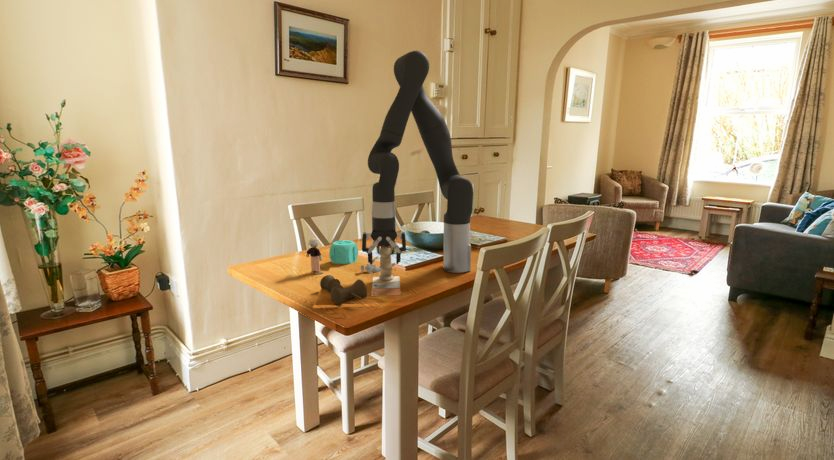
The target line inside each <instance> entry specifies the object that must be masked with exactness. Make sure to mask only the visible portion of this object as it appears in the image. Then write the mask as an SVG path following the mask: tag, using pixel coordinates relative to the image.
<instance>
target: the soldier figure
mask: <svg viewBox="0 0 834 460" xmlns="http://www.w3.org/2000/svg"><path fill="white" fill-rule="evenodd" d="M378 259H379V256H376V257H375V258H374V259H373V263H372V264H370V263H369V262H368V263H367V264H366V265H363V264H362V265H360V271H361V272H363V271H364V270H366V272H367V274H373V273H380V265H376V264H374V262H375V261H376V260H378ZM395 266H396V262H394V263H391V267H395ZM393 271H397V269H396V268H395V269H393Z"/></svg>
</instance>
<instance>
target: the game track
mask: <svg viewBox="0 0 834 460" xmlns="http://www.w3.org/2000/svg"><path fill="white" fill-rule="evenodd" d="M371 284H372V285H371V294H370V296H371V297H374V296H375V297H376V296H378V297H379V296H401V280H400V275H393V280H391V281H381V280H380V279H379V276H373V277H372V283H371Z"/></svg>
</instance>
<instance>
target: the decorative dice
mask: <svg viewBox="0 0 834 460" xmlns="http://www.w3.org/2000/svg"><path fill="white" fill-rule="evenodd" d="M358 256H359V249H358V246H357V244H356V243H355V242H354V241H353V240H348V239H345V240H344V239H343V240H336V241H333V242H332V244H331V245H330V247H329V259H330V261H331V263H332V264H338V265H340V264H341V265H347V264H353V263H356V262H357V260H358Z"/></svg>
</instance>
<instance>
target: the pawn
mask: <svg viewBox="0 0 834 460" xmlns="http://www.w3.org/2000/svg"><path fill="white" fill-rule="evenodd" d="M392 252H393V251H392V249H391V248H390V246H381V248H380V249H379V252H378V253H379V266H380V271H379V273H380V274H379V276H378V277H379V279H380V280H381V281H391V280H393V276H394V275H393V274H392V266H391V264H392Z"/></svg>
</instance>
